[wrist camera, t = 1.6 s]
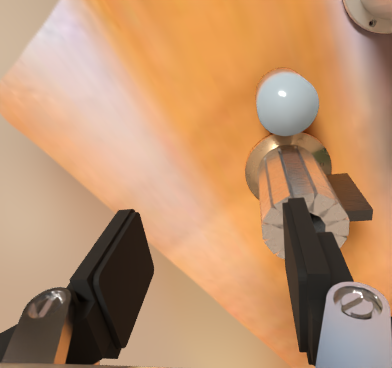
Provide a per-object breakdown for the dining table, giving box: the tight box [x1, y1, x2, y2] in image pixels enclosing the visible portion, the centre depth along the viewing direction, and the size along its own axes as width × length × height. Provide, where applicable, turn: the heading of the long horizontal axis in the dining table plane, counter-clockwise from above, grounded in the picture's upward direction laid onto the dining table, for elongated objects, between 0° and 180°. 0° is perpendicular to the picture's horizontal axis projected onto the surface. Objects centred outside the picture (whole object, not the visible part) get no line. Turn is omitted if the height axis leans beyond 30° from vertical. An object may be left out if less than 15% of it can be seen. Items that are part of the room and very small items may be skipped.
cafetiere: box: [245, 132, 373, 259], centre depth 42 cm, size 14×13×17 cm
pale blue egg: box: [255, 68, 319, 136], centre depth 41 cm, size 7×7×9 cm
